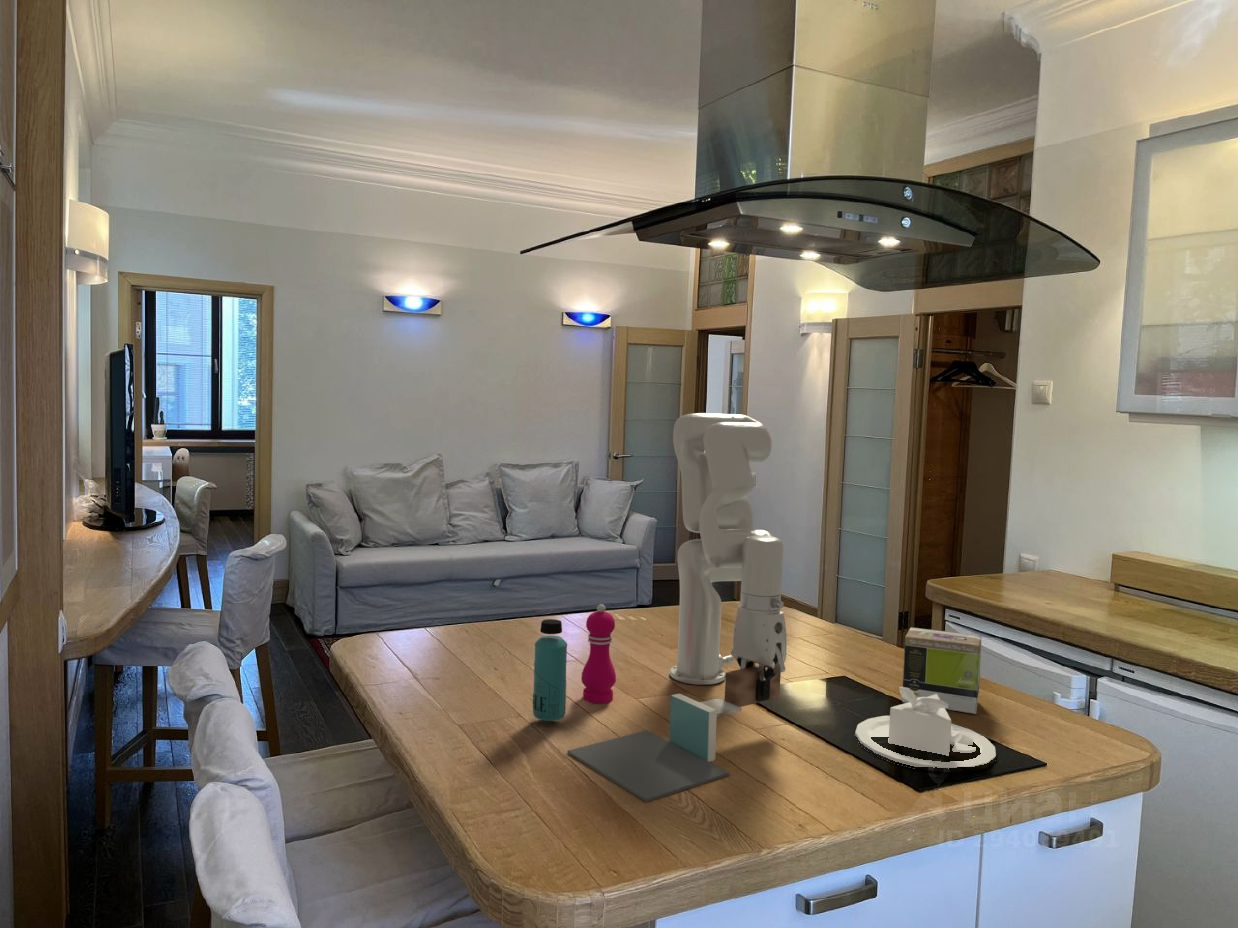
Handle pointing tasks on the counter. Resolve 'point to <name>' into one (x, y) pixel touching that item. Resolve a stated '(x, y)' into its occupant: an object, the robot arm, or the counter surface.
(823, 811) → the counter surface
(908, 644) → the tea box
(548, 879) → the counter surface
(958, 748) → the dish
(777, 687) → the wooden handled spatula
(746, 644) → the robot arm
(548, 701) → the beverage bottle
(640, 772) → the tile mat
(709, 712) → the tile
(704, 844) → the counter surface
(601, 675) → the pepper mill
